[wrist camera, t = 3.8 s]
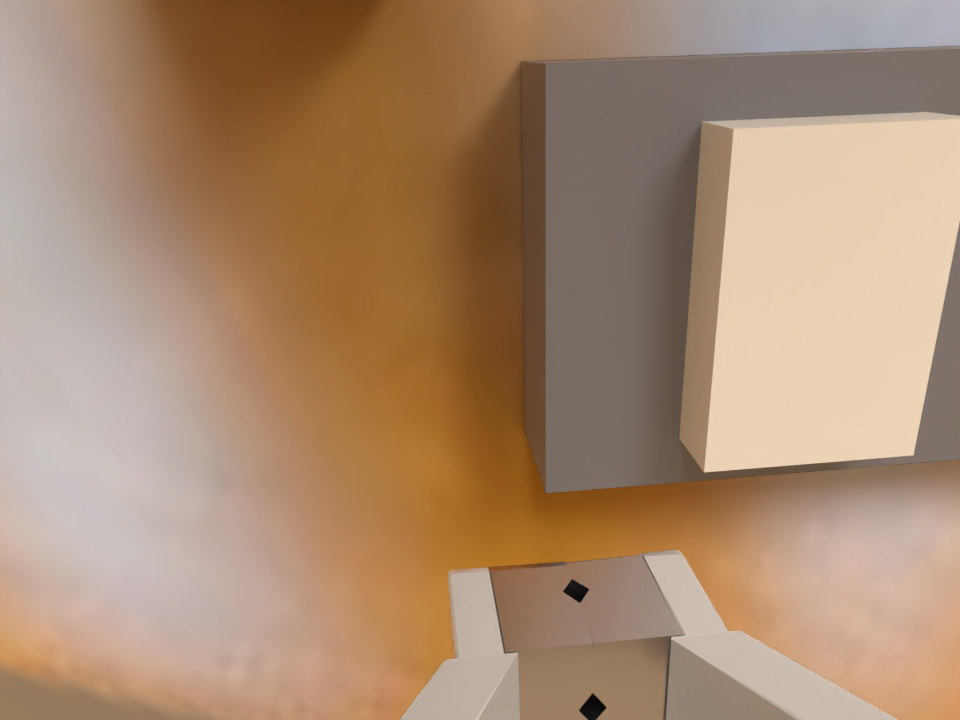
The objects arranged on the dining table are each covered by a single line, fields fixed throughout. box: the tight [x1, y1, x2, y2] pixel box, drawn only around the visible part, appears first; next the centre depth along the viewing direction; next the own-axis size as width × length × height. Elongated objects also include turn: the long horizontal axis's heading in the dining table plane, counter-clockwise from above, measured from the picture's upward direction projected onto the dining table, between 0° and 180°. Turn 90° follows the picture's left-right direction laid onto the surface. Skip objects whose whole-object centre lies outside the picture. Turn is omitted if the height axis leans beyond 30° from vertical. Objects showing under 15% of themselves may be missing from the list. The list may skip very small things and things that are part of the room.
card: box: [679, 112, 960, 472], centre depth 21 cm, size 9×6×2 cm, turn 2°
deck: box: [521, 46, 960, 493], centre depth 24 cm, size 12×22×4 cm, turn 92°
